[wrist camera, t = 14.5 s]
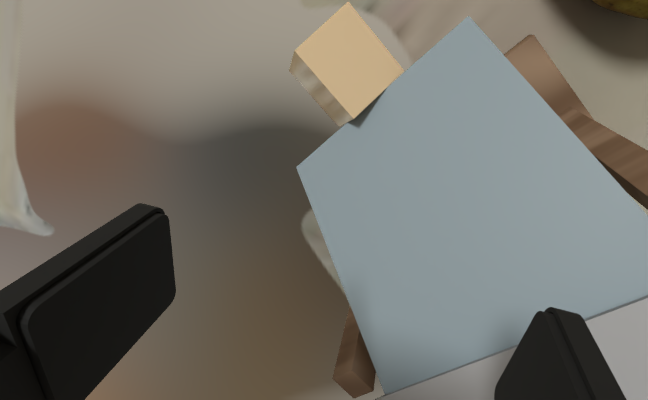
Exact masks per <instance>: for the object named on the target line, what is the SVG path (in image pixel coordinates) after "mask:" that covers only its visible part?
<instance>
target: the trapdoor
mask: <svg viewBox="0 0 648 400" xmlns="http://www.w3.org/2000/svg"><path fill="white" fill-rule="evenodd" d="M296 168H297V170H298V173H299V175H300V178H301V180H302V183H303V186H304V188H305V191H306V193H307V196H308V198H309V201H310V204H311V206H312V209H313V211H314V214H315V216H316V219H317V222H318V224H319V227H320V229H321V232H322V234H323V237H324V240H325V242H326V245H327V247H328V250H329V252H330V255H331V257H332V260H333V263H334V265H335V268H336V270H337V273H338V275H339V278H340V281H341V283H342V286H343V288H344V291H345V293H346V296H347V298H348V301H349V304H350V306H351V309H352V311H353V314H354V316H355V319H356V322H357V324H358V327H359V329H360V332H361V334H362V337H363V339H364V342H365V345H366V347H367V350H368V352H369V355H370V357H371V360H372V363H373V365H374V368H375V370H376V373H377V375H378V378H379V380H380V383H381V386H382V388H383V391H384V393H385V395H383V396H381V397H379V398H377V399H375V400H494V392H495V387H496V384H497V382H498V381H499V379H500V377H501V375H502V373H503V372H504V370H505V368H506V366H507V364H508V363H509V361H510V359H511V357H512V355H513V353H514V352H515V350H516V348H517V346H518V344H519V343H520V341H521V339H522V337H523V335H524V334H525V332H526V330H527V328H528V326H529V325H530V323H531V321H532V319H533V317H534V316H535V314H536V313H537V312H538V311H543V312H544V311H545V310H546V309H547V308H549V307H554V308H557V309H561V310H565V311H569V312H573V313H577V314H579V315H581V316H582V318H583V319H584V321H585V323H586V325H587V326H588V328H589V330H590V332H591V334H592V336H593V338H594V340H595V341H596V343H597V345H598V347H599V349H600V351H601V353H602V355H603V356H604V358H605V360H606V362H607V364H608V366H609V368H610V369H611V371H612V373H613V375H614V377H615V379H616V381H617V383H618V384H619V386H620V388H621V390H622V392H623V394H624V396H625V398H626V399H627V400H648V216H647V215H646V214H645V212H644V211H643V210H642V209H641V208H640V207H639V206H638V205H637V203H636V202H635V201H634V200H633V199H632V198H631V197H630V196H629V195H628V193H627V192H626V191H625V190H624V189H623V188H622V187H621V186H620V184H619V183H618V182H617V181H616V180H615V179H614V178H613V177H612V176H611V174H610V173H609V172H608V171H607V170H606V169H605V168H604V167H603V165H602V164H601V163H600V162H599V161H598V160H597V159H596V158H595V157H594V155H593V154H592V153H591V152H590V151H589V150H588V149H587V148H586V146H585V145H584V144H583V143H582V142H581V141H580V140H579V139H578V138H577V136H576V135H575V134H574V133H573V132H572V131H571V130H570V129H569V127H568V126H567V125H566V124H565V123H564V122H563V121H562V120H561V118H560V117H559V116H558V115H557V114H556V113H555V112H554V111H553V110H552V108H551V107H550V106H549V105H548V104H547V103H546V102H545V101H544V99H543V98H542V97H541V96H540V95H539V94H538V93H537V92H536V91H535V89H534V88H533V87H532V86H531V85H530V84H529V83H528V82H527V80H526V79H525V78H524V77H523V76H522V75H521V74H520V73H519V72H518V70H517V69H516V68H515V67H514V66H513V65H512V64H511V63H510V61H509V60H508V59H507V58H506V57H505V56H504V55H503V54H502V53H501V51H500V50H499V49H498V48H497V47H496V46H495V45H494V44H493V42H492V41H491V40H490V39H489V38H488V37H487V36H486V35H485V34H484V32H483V31H482V30H481V29H480V28H479V27H478V26H477V25H476V23H475V22H474V21H473V20H472V19H471V18H470V17H469V16H468V17H466V18H465V19H464V20H463V21H462V22H461V23H460V24H459V25H457V26H456V27H455V28H454V29H453V30H452V31H451V32H449V33H448V34H447V35H446V36H445V37H444V38H443V39H441V40H440V41H439V42H438V43H437V44H436V45H435V46H434V47H432V48H431V49H430V50H429V51H428V52H427V53H426V54H424V55H423V56H422V57H421V58H420V59H419V60H418V61H416V62H415V63H414V64H413V65H412V66H411V67H410V68H409V69H407V71H405V72H404V73H403V74H402V75H401V76H399V77H398V78H397V79H396V80H395V81H394V82H393V83H391V84H390V85H389V86H388V87H387V88H386V89H385V90H384V91H383V92H382V93H381V94H380V95H379V96H377V97H376V98H375V99H374V100H373V101H372V102H371V103H370V104H369V105H368V106H367V107H366V108H365V109H364V110H363V111H362V112H361V113H359V114H358V115H357V116H356V117H355V118H354V119H353V120H351V121H349V122H347V123H346V124H345V125H344V126H343V127H341V129H339V130H338V131H337V132H336V133H335V134H334V135H332V136H331V137H330V138H329V139H328V140H327V141H326V142H324V143H323V144H322V145H321V146H320V147H319V148H318V149H317V150H315V151H314V152H313V153H312V154H311V155H310V156H309V157H307V158H306V159H305V160H304V161H303V162H302V163H301V164H299V165H298V166H297V167H296Z"/></svg>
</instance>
